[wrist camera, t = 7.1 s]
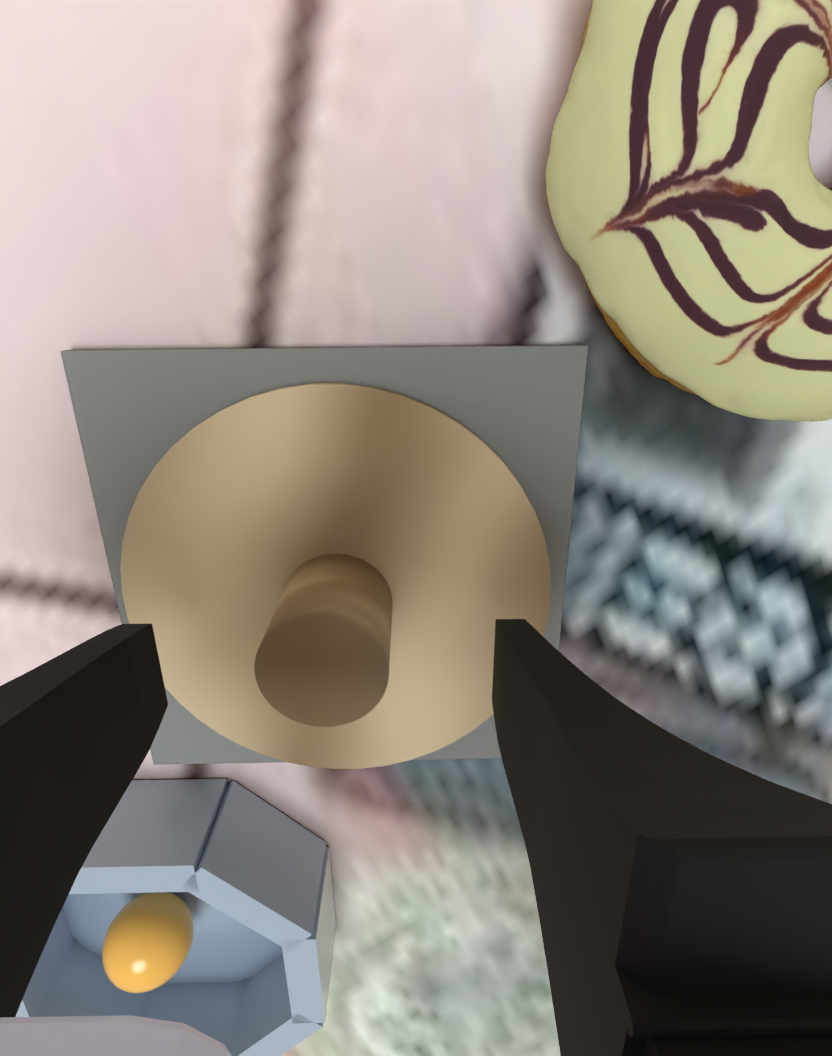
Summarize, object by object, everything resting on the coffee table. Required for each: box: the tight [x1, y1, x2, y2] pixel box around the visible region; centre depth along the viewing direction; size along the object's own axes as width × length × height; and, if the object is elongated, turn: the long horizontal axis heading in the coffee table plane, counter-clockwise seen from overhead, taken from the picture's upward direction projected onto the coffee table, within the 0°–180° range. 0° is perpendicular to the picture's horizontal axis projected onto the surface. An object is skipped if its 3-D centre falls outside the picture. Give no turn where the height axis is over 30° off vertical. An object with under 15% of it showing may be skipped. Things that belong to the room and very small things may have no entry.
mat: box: [61, 345, 588, 764], centre depth 15 cm, size 12×12×1 cm
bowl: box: [16, 779, 336, 1056], centre depth 18 cm, size 10×10×3 cm
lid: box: [120, 383, 551, 769], centre depth 14 cm, size 11×11×4 cm
